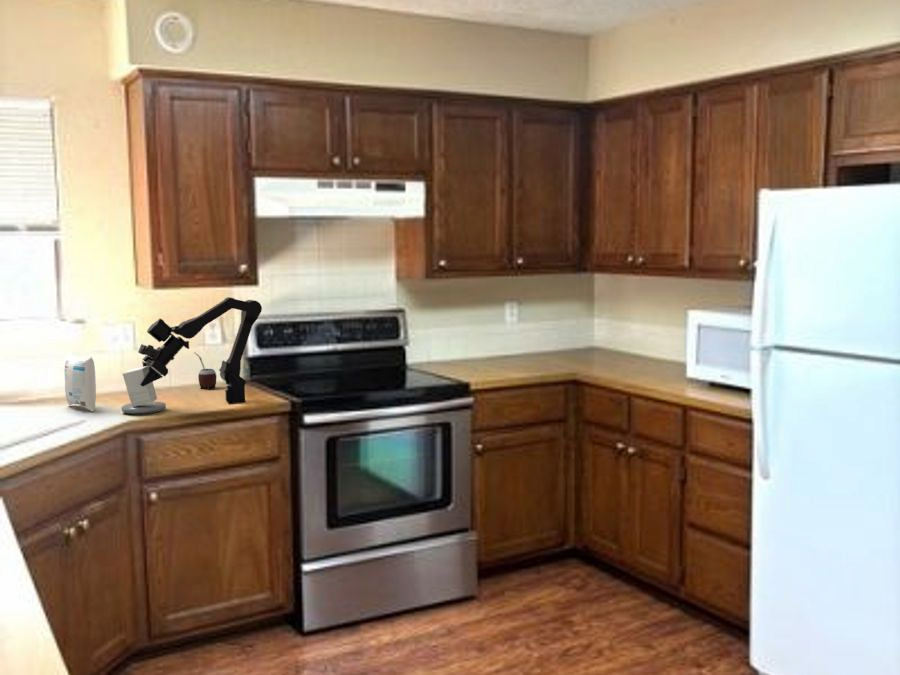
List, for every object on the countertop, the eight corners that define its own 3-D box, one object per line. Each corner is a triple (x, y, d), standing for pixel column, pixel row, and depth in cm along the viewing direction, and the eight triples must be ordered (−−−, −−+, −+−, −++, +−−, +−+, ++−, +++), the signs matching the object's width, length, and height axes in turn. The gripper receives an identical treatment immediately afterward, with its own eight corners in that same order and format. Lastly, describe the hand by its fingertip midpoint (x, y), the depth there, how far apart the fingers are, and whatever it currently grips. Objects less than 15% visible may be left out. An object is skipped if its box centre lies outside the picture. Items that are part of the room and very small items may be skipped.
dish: (164, 406, 330) (164, 400, 329) (167, 413, 316) (167, 407, 315) (121, 409, 324) (121, 403, 324) (122, 417, 310) (122, 411, 310)
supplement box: (158, 398, 323) (148, 365, 321) (151, 403, 316) (142, 368, 314) (138, 403, 323) (129, 369, 321) (131, 407, 316) (121, 373, 314)
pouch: (81, 413, 318) (77, 358, 315) (60, 406, 331) (57, 353, 329) (103, 410, 323) (99, 355, 321) (82, 403, 337) (79, 351, 334)
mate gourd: (217, 389, 363) (216, 353, 361) (197, 391, 360) (196, 354, 358) (215, 386, 370) (213, 350, 368) (195, 388, 367) (194, 352, 365)
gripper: (146, 333, 327) (117, 366, 323) (156, 338, 310) (125, 373, 307) (170, 352, 331) (141, 385, 328) (180, 358, 315) (150, 393, 311)
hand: (139, 383), depth 318 cm, fingers closed on supplement box, 9 cm apart
